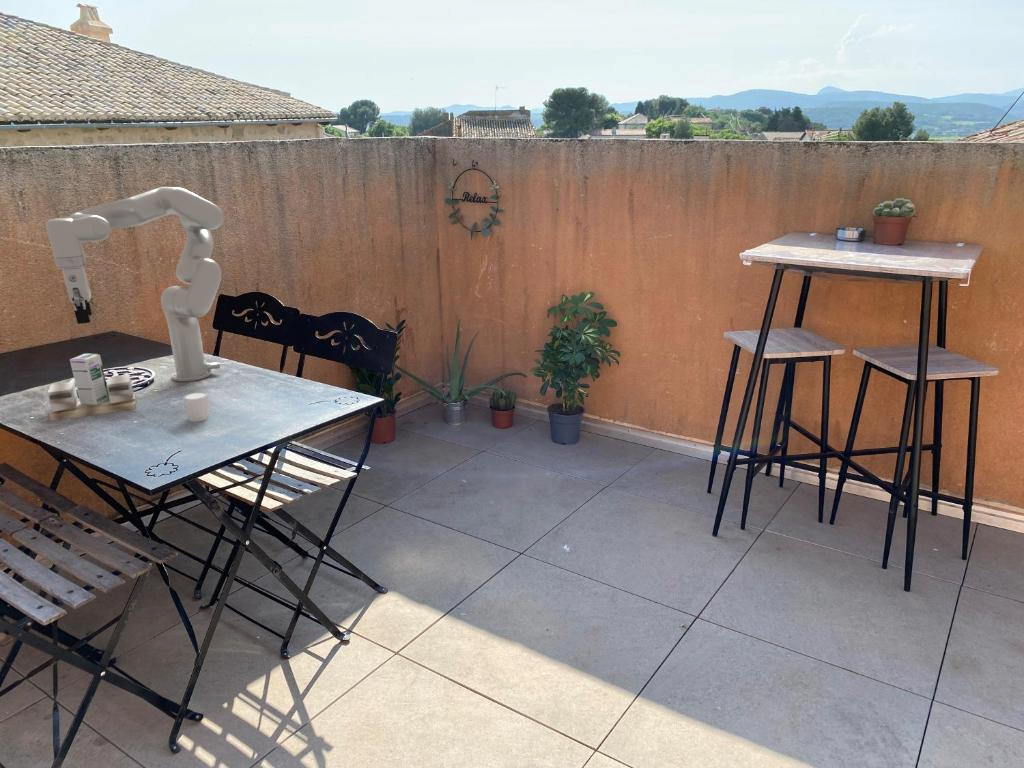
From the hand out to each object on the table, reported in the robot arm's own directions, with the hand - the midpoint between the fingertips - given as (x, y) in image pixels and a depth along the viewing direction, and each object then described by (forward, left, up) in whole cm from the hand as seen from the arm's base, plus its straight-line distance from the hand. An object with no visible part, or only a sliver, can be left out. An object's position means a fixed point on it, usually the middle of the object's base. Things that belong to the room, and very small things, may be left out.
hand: (85, 319), depth 203 cm
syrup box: (+2, +3, -25) cm, 25 cm away
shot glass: (-26, +26, -27) cm, 46 cm away
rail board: (+2, +3, -27) cm, 27 cm away
